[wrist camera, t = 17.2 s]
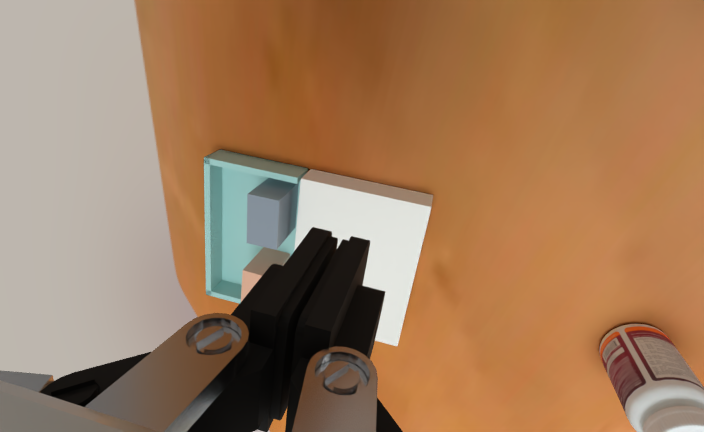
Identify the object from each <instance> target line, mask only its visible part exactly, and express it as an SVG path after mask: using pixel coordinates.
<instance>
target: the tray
mask: <svg viewBox="0 0 704 432" xmlns="http://www.w3.org/2000/svg"><path fill="white" fill-rule="evenodd" d="M307 172H308V168H304V167H300V166H295V165H290V164H286V163H281V162H276V161H272V160H267V159H262V158H258V157H253V156H248V155H244V154H239V153H234V152H230V151H225V150H218V151H216V152H214V153H212V154H210V155H208V156H206V157H204V195H205V255H206V295H210V296H214V297H217V298H221V299H225V300H228V301H232V302H236V303H239V304H240V303H241V289H242V273H243V269H244V268H245V267H246V266H247V265H248V264H249V263H250V261H251V260H252V259H253V258H254V257H255V256H256V255H257V254H258V253H259V252H260V250H261V249H262V248H263V247H261V246H257V245H253V244H249V243H247V194H248V193H249V192H251V191H252V190H253V189H255V188H256V187H257V186H259V185H260V184H261V183H262V182H264V181H265V180H266V179H268V178H273V179H277V180H282V181H286V182H291V183H295V184H298V183H299V186H298V200H297V213H296V226H297V215H298V204H299V193H300V182H301V178H302V177H303V176H304V175H305V174H306V173H307ZM296 226H295V229H294V230H293V231H292V232H291V233H290V235H289V236H288V237H287V238H286V239H285V241H284V242H283V243H282V244H281V245H280V247H279V248H278V249H277V250H279V251H282V252H286V253H290V256H291V255H292V254H293V252H294V248H295V237H296Z"/></svg>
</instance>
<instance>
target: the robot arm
mask: <svg viewBox="0 0 704 432" xmlns="http://www.w3.org/2000/svg"><path fill="white" fill-rule="evenodd" d="M337 244H338V238H336V237H332V231H328V230H324V229H319V228H315V227H312V228H311V230H310V231H309V232H308V234H307V235H306V236H305V238H304V239H303V240H302V242H301V243H300V244H299V246H298V247H297V248H296V250H295V251H294V252H293V254H292V255H291V256H290V258H289V259H288V260H287V262H286V263H285V264H284V266H283V265H279V264H272V265H271V266H270V267H269V268H268V269H267V270H266V272H265V273H264V274H263V275H262V277H261V278H260V279H259V280H258V282H257V283H256V284H255V285H254V287H253V288H252V289H251V290H250V292H249V293H248V294H247V295H246V297H245V298H244V299H243V300H242V302H241V303H240V304H239V305H238V307H237V308H236V309H235V310H234V312H233V313H232V314H231V315H229V314H222V313H213V314H207V315H203V316H200V317H197V318H195V319H193V320H192V321H190V322H188V323H187V324H186V325H184V326H183V327H182V328H181V329H179V330H178V331H177V332H176V333H174V334H173V335H172V336H171V337H170V338H168V339H167V340H166V341H165V342H163V343H162V344H161V345H160V346H159V347H157V348H156V349H155V350H154V351H153V352H149V353H145V354H141V355H137V356H134V357H130V358H126V359H123V360H119V361H115V362H111V363H108V364H104V365H101V366H97V367H93V368H89V369H86V370H82V371H78V372H74V373H72V374H69V375H66V376H64V377H61V378H59V379H57V380H56V381H54V380H53V376H52V375H44V374H33V373H22V372H10V371H0V432H253V431H255V430H257V429H258V430H261V431H264V432H267V431H268V430H269V428H270V425H271V423H272V421H273V419H277V420H281V419H282V417H283V415H284V413H285V411H286V408H287V406H288V408H287V418H286V430H285V432H403V431H402V430H401V429H400V427H399V426H398V425H397V423H396V422H395V421H394V419H393V418H392V417H391V415H390V414H389V413H388V411H387V410H386V409H385V407H384V406H383V405H382V403H381V402H380V401H379V399H378V398H377V382H378V377H377V371H376V368H375V366H374V365H373V363H372V361H371V360H370V356H371V353H372V349H373V345H374V341H375V337H376V333H377V329H378V325H379V320H380V316H381V311H382V306H383V302H384V297H385V291H382V290H378V289H374V288H370V287H366V286H363V280H364V275H365V269H366V264H367V258H368V253H369V247H370V240H366V239H362V238H358V237H353V236H351V237H350V239H349V241H348V240H344V239H343V240H342V241H341V243H340V245H339V247H338V248H337Z"/></svg>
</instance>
